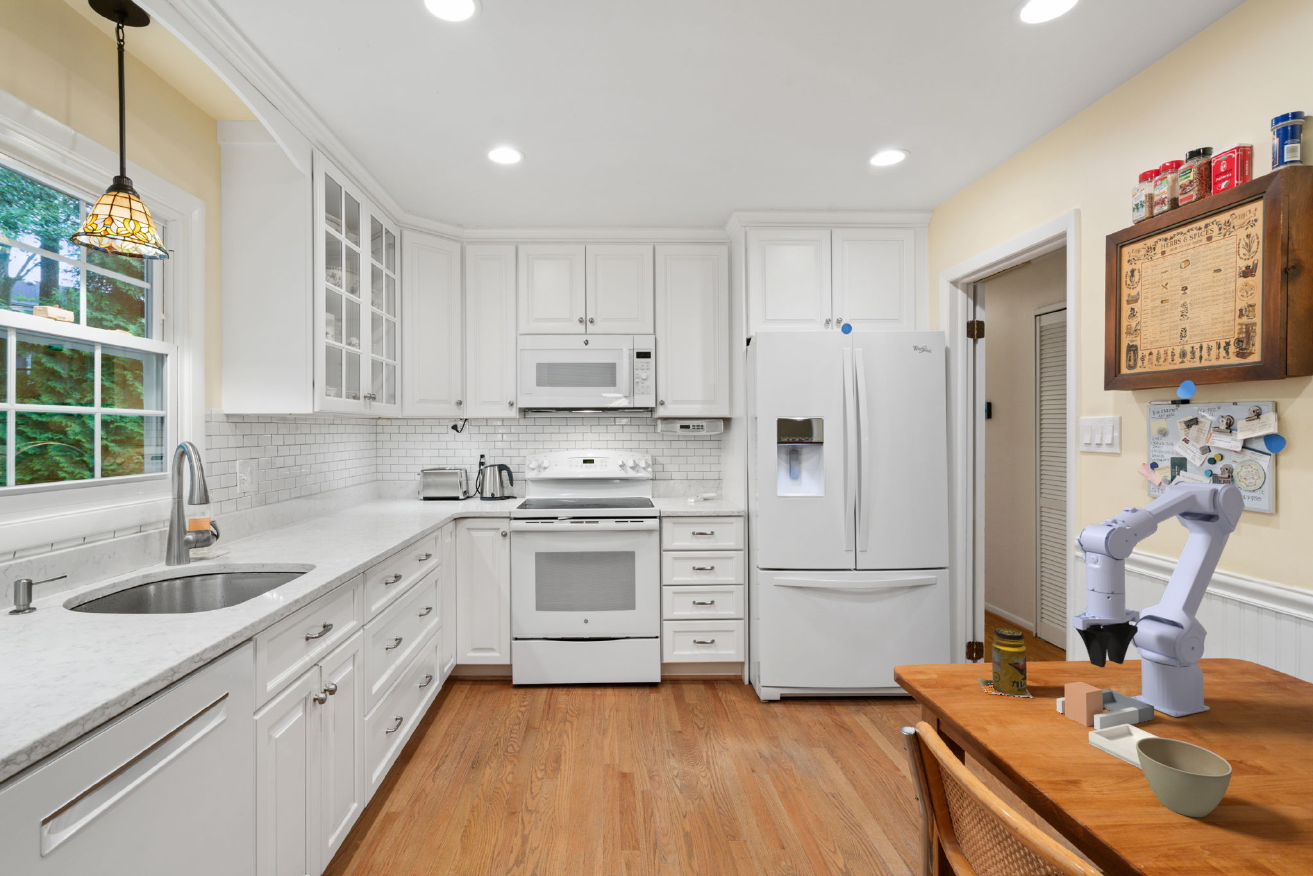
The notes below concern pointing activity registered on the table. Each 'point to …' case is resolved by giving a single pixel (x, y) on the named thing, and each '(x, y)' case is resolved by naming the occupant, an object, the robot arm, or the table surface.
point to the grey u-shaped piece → (1127, 704)
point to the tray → (1119, 741)
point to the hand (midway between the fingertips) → (1106, 663)
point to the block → (1083, 702)
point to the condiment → (1008, 663)
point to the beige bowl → (1184, 775)
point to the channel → (1108, 716)
